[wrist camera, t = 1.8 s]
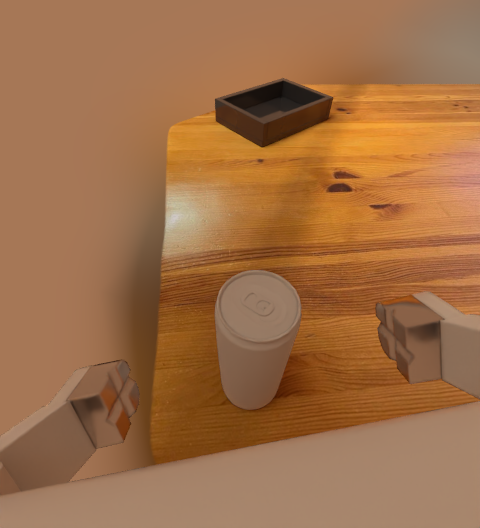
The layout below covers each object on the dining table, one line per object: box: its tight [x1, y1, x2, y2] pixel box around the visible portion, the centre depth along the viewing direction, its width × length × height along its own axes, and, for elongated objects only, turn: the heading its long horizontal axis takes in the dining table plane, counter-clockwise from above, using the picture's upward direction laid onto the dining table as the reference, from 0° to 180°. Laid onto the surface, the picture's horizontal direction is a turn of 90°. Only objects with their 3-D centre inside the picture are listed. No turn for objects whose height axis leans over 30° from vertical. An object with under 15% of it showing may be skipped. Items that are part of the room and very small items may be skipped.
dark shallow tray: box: [215, 78, 333, 147], centre depth 56 cm, size 18×13×4 cm
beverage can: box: [215, 270, 301, 410], centre depth 20 cm, size 5×5×12 cm
